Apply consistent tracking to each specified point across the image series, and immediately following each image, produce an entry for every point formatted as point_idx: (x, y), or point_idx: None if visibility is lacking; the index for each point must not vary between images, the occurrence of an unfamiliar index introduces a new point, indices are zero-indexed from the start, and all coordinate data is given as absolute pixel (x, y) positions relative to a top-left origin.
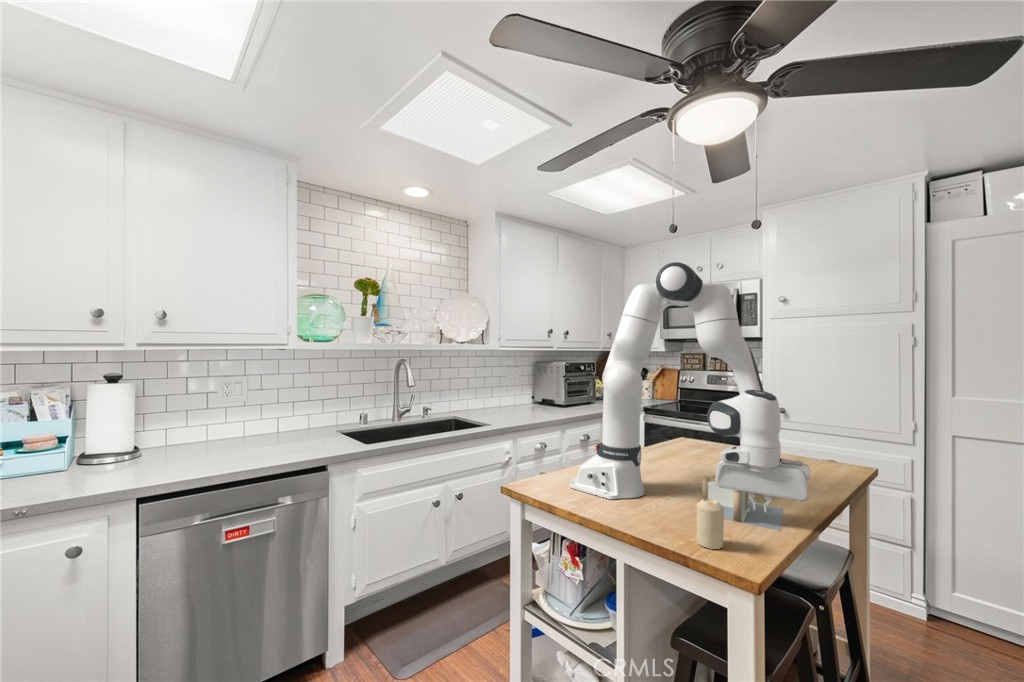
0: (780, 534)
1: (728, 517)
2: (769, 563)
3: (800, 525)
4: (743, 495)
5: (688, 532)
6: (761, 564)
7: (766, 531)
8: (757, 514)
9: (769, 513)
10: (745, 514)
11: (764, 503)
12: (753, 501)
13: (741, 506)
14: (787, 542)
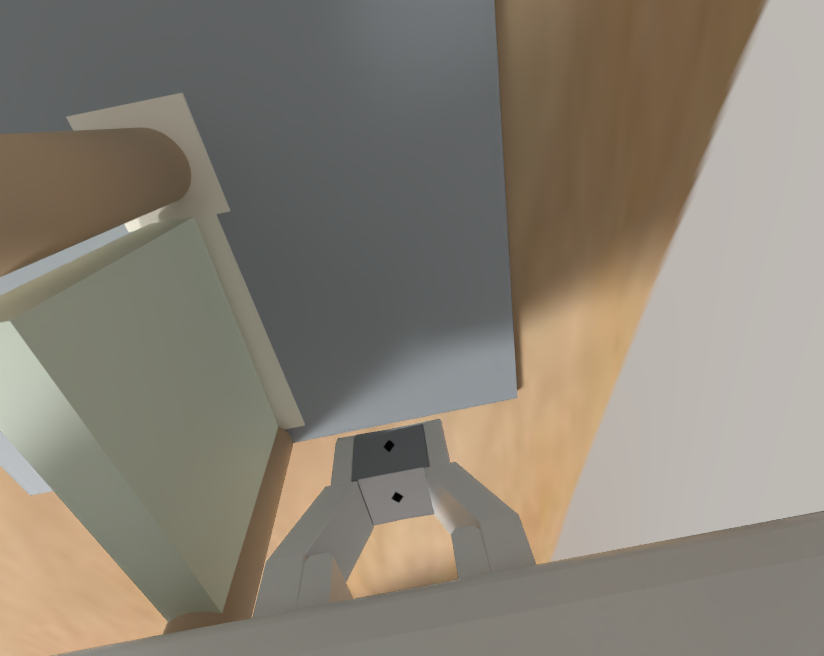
0: (516, 423)
1: None
2: None
3: (633, 173)
4: (157, 423)
5: None
6: None
7: (447, 437)
8: (310, 212)
9: (380, 82)
10: (246, 298)
11: (439, 504)
12: (351, 554)
13: (240, 453)
14: (552, 481)
